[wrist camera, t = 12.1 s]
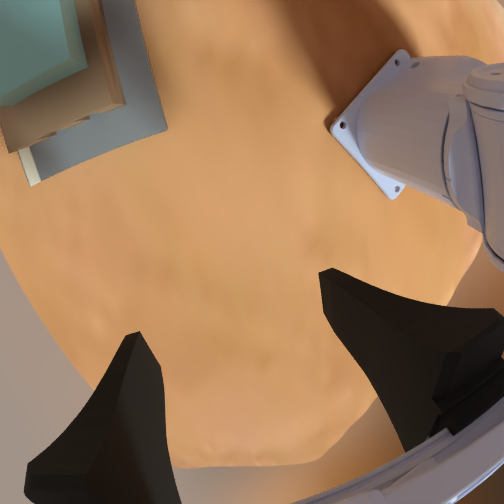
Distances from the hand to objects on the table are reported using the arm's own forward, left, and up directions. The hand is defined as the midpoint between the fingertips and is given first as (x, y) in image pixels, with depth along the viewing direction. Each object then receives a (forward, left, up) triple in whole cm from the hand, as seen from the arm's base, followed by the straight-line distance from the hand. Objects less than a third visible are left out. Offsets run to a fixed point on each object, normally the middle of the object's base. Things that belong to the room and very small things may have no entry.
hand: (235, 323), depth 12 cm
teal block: (-4, -14, -4) cm, 15 cm away
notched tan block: (-4, -14, -8) cm, 17 cm away
